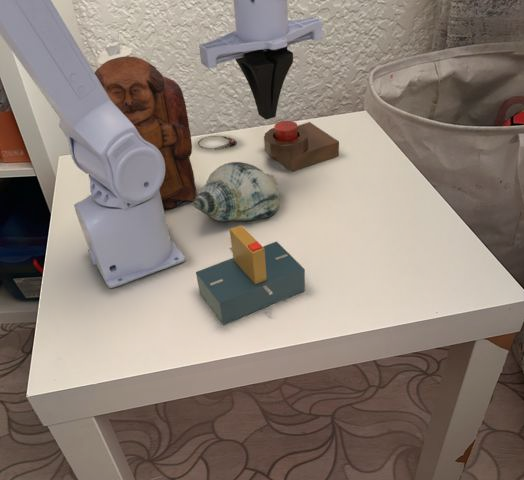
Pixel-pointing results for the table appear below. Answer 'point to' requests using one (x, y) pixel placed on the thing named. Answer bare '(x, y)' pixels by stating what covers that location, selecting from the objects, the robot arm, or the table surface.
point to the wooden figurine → (154, 119)
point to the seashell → (238, 193)
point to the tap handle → (248, 254)
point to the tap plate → (250, 284)
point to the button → (286, 131)
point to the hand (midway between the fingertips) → (267, 115)
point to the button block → (302, 147)
